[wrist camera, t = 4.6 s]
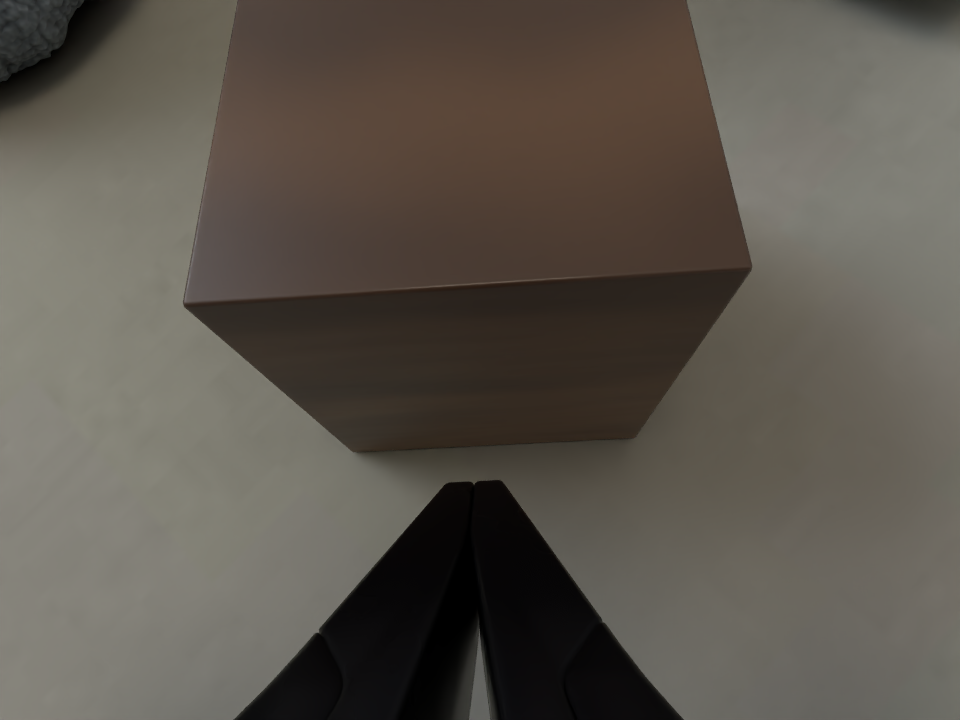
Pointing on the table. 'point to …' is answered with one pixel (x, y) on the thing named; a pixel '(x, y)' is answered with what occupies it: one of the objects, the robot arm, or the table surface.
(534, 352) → the walnut block
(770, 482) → the table surface
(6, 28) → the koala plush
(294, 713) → the robot arm
